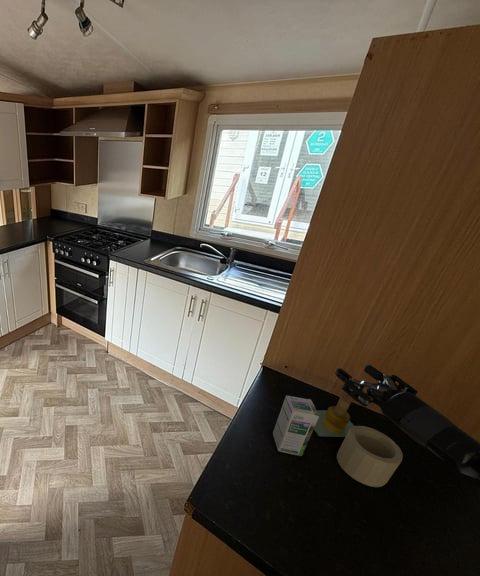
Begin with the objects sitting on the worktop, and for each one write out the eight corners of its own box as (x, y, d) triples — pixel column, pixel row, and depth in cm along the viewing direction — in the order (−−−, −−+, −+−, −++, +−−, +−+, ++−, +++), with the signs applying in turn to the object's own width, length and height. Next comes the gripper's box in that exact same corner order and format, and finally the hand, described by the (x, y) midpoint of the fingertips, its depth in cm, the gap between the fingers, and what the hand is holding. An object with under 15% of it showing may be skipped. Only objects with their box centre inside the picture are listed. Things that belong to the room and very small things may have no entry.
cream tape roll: (365, 450, 81) (379, 426, 77) (397, 488, 72) (414, 463, 68) (327, 449, 81) (339, 425, 77) (354, 487, 73) (369, 462, 69)
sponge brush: (336, 418, 89) (357, 376, 82) (348, 433, 85) (371, 390, 78) (318, 418, 90) (337, 375, 82) (329, 433, 85) (351, 389, 78)
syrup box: (277, 452, 80) (293, 412, 74) (271, 433, 86) (286, 394, 79) (301, 457, 79) (320, 416, 73) (294, 437, 84) (311, 398, 78)
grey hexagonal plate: (340, 411, 92) (341, 410, 92) (363, 438, 84) (363, 437, 84) (299, 410, 93) (300, 409, 92) (318, 437, 85) (319, 436, 84)
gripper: (455, 403, 66) (381, 354, 80) (397, 411, 64) (332, 360, 78) (437, 427, 69) (369, 377, 83) (382, 436, 67) (322, 382, 81)
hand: (351, 369), depth 81 cm, fingers open, 8 cm apart
